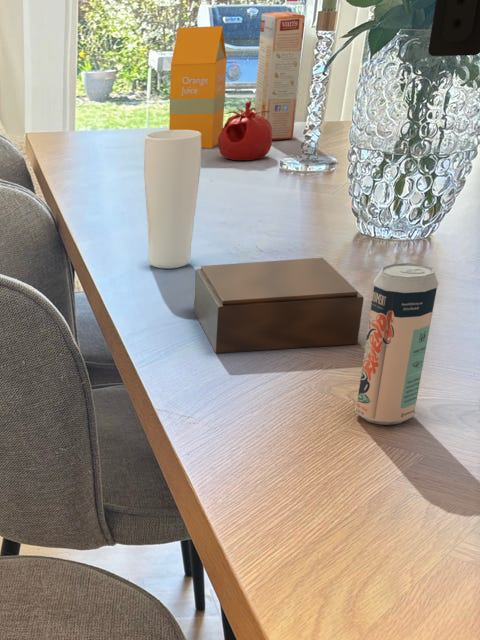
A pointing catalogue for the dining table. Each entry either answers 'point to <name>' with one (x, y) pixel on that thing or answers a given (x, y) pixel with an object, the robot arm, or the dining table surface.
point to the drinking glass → (171, 194)
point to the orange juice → (198, 82)
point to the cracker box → (279, 70)
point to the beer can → (396, 342)
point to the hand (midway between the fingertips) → (466, 46)
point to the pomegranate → (245, 135)
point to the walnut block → (276, 305)
